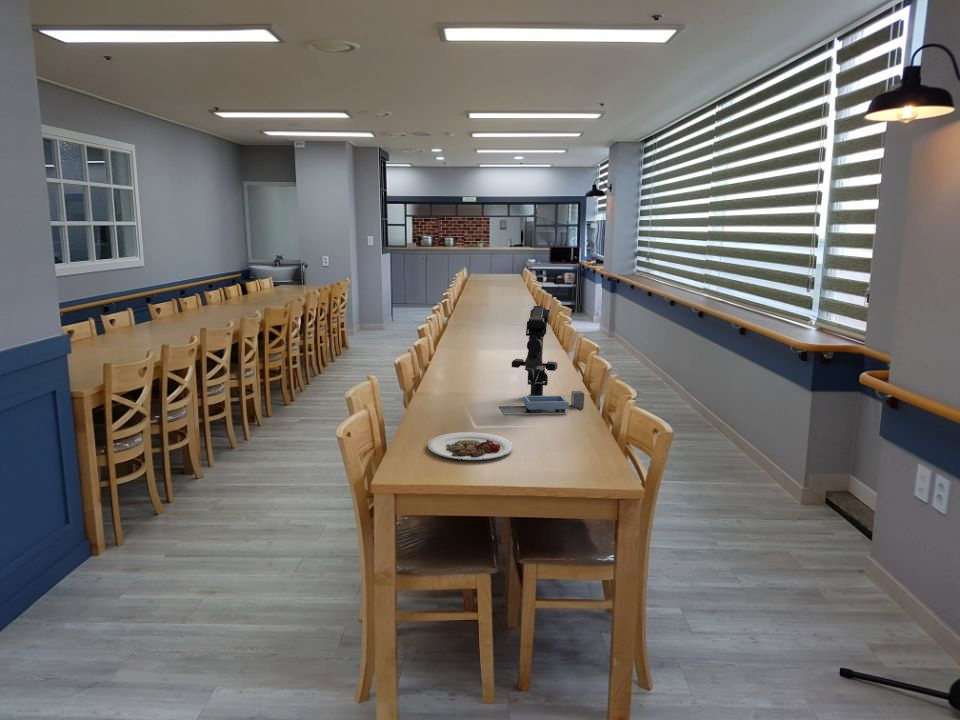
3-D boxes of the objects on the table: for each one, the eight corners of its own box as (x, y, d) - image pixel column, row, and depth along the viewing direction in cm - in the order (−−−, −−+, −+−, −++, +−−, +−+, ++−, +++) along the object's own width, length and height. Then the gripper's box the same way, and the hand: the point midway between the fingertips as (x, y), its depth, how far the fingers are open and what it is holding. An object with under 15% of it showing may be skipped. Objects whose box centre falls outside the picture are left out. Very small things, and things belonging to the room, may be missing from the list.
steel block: (570, 406, 304) (571, 390, 303) (580, 406, 305) (581, 390, 303) (573, 409, 300) (574, 393, 298) (583, 408, 300) (584, 393, 299)
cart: (523, 406, 297) (523, 396, 296) (561, 406, 300) (562, 395, 299) (528, 413, 286) (528, 402, 286) (568, 413, 289) (568, 402, 288)
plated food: (415, 441, 250) (416, 432, 249) (491, 433, 262) (491, 425, 261) (445, 468, 223) (445, 458, 222) (528, 458, 235) (528, 448, 234)
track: (498, 408, 297) (498, 405, 297) (559, 408, 301) (559, 404, 300) (503, 417, 284) (503, 413, 284) (567, 416, 288) (567, 412, 288)
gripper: (508, 350, 284) (507, 386, 287) (553, 353, 279) (551, 390, 282) (515, 345, 295) (514, 381, 298) (558, 348, 289) (556, 384, 293)
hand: (533, 384), depth 292 cm, fingers closed
